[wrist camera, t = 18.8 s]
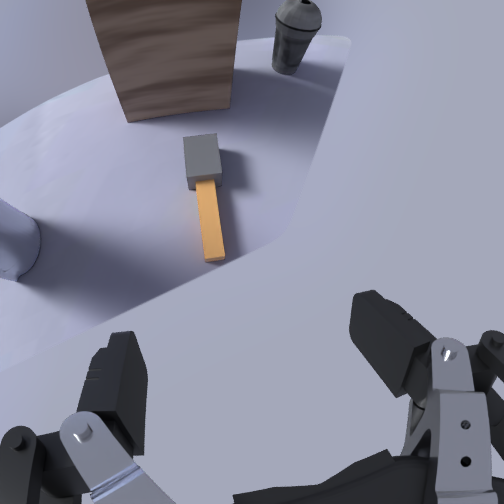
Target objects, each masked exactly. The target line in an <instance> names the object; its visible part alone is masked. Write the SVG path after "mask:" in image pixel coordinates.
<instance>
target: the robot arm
mask: <svg viewBox="0 0 504 504" xmlns="http://www.w3.org/2000/svg"><path fill="white" fill-rule="evenodd" d="M40 240H41V239H40V231H39V228H38V226H37V224H36V222H35V221H34V220H33V219H32V218H30V217H29V216H28V215H26V214H25V213H23V212H21V211H19V210H18V209H16V208H15V207H13V206H11V205H10V204H8V203H7V202H5V201H4V200H2V199H1V198H0V278H3V279H7V280H11V281H17V279H18V277H19V276H20V275H22V274H24V273H26V272H27V271H28V270H29V269H30V268H31V267H32V266H33V264H34V262H35V261H36V259H37V256H38V253H39V249H40ZM349 332H350V337H351V339H352V341H353V343H354V344H355V345H356V347H357V348H358V349H359V351H360V352H361V353H362V354H363V356H364V357H365V358H366V360H367V361H368V362H369V363H370V365H371V366H372V367H373V369H374V370H375V371H376V373H377V374H378V375H379V376H380V378H381V379H382V380H383V382H384V383H385V384H386V386H387V387H388V388H389V389H390V391H391V392H392V393H393V395H394V396H395V397H396V398H398V397H400V396H402V395H404V394H407V393H408V394H409V396H410V397H411V400H410V402H409V412H408V421H407V430H406V437H405V443H404V447H403V450H402V452H401V454H400V456H393V457H392V456H391V454H390V453H389V451H388V450H387V449H386V450H383V451H381V452H379V453H377V454H375V455H372V456H370V457H367V458H365V459H362V460H360V461H357V462H355V463H353V464H351V465H350V466H349V467H347V468H345V469H344V470H342V471H341V472H339V473H338V474H336V475H334V476H333V477H331V478H330V479H328V480H326V481H324V482H323V483H321V484H318V485H308V486H292V487H272V488H268V489H263V490H258V491H253V492H247V493H241V494H235V495H233V499H234V504H504V479H502V478H497V477H493V476H492V463H491V444H492V445H493V447H494V448H495V449H496V451H497V452H498V453H499V455H500V456H501V458H502V459H503V460H504V400H503V399H501V397H500V396H499V395H498V394H497V393H496V391H495V390H494V389H493V388H492V385H493V383H494V381H495V380H496V378H497V376H498V377H499V378H500V379H501V380H502V381H503V382H504V334H503V333H501V332H498V331H494V330H493V331H492V330H490V331H486V332H484V333H483V335H482V337H481V339H480V342H479V344H478V345H472V346H465V345H463V344H462V343H461V342H460V341H458V340H456V339H453V338H439V339H436V338H435V337H434V336H433V335H432V334H431V333H430V332H429V331H428V330H426V329H425V328H424V327H423V326H422V325H421V324H420V323H419V322H418V321H416V320H415V319H413V317H412V316H411V315H410V314H409V313H407V312H406V311H405V310H404V309H403V308H402V307H401V306H400V305H398V304H396V303H394V302H392V301H390V300H387V299H384V298H383V297H382V296H381V295H380V294H379V293H378V292H376V291H375V290H370V291H365V292H361V293H356V294H355V295H354V297H353V302H352V310H351V318H350V326H349ZM147 385H148V376H147V369H146V365H145V362H144V359H143V356H142V354H141V351H140V348H139V345H138V342H137V339H136V336H135V334H134V332H133V331H126V332H116V333H112V334H111V336H110V339H109V343H108V346H107V348H100V349H99V350H98V352H97V353H96V354H95V355H94V356H93V357H92V360H91V363H90V366H89V371H88V372H87V376H86V380H85V382H84V386H83V390H82V393H81V397H80V400H79V404H78V408H77V412H76V413H74V414H72V415H71V416H69V417H68V418H66V419H65V421H64V422H63V423H62V425H61V428H60V431H57V432H53V433H49V434H45V435H40V436H36V434H35V433H34V432H33V431H32V430H31V429H30V428H28V427H25V426H16V427H14V428H12V429H10V430H9V431H8V432H7V433H6V434H5V435H4V437H3V439H2V441H1V445H0V504H81V502H82V499H81V498H82V494H83V493H89V492H92V494H90V496H91V499H92V501H93V502H94V504H176V503H175V502H174V501H173V500H172V499H170V497H169V496H167V494H165V492H163V491H162V490H161V489H160V487H159V486H157V485H156V483H154V481H153V480H152V479H151V478H150V477H149V476H148V475H147V474H146V473H145V472H144V471H143V470H142V469H141V468H140V466H138V465H137V464H136V463H135V462H134V460H133V456H134V455H135V456H136V455H137V456H138V455H144V438H145V414H146V398H147Z"/></svg>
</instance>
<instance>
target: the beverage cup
mask: <svg viewBox="0 0 504 504" xmlns="http://www.w3.org/2000/svg"><path fill="white" fill-rule="evenodd" d="M275 17H276V32H275V40H274V48H273V56H272V67H273V69H274V70H275V71H277V72H278V73H281V74H285V75H290V74H293V73H294V72H295V71H296V69H297V67H298V66H299V64H300V62H301V60H302V58H303V56H304V54H305V52H306V50H307V48H308V46H309V44H310V42H311V40H312V38H313V37H314V36H315V35H316V33H317V32H318V30H319V29H320V28H321V22H322V17H321V12H320V10H319V8H318V7H317V6H316V4H314V3H313V2H312V1H310V0H287V1H285V2H284V3H283V4H282V5H281V6H280V7H279V9H278V11H277V13H276V14H275Z"/></svg>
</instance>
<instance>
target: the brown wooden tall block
mask: <svg viewBox="0 0 504 504" xmlns="http://www.w3.org/2000/svg"><path fill="white" fill-rule="evenodd" d="M241 3H242V0H86V4H87V7H88V10H89V13H90V17H91V20H92V23H93V27H94V30H95V33H96V36H97V39H98V42H99V45H100V48H101V51H102V54H103V57H104V60H105V62H106V66H107V68H108V71H109V74H110V77H111V80H112V82H113V85H114V88H115V90H116V93H117V96H118V98H119V101H120V104H121V106H122V109H123V111H124V114H125V117H126V119H127V122H133V121H138V120H144V119H149V118H155V117H161V116H168V115H175V114H182V113H190V112H198V111H207V110H217V109H229V108H230V99H231V89H232V79H233V70H234V60H235V51H236V43H237V34H238V26H239V18H240V10H241Z"/></svg>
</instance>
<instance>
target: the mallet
mask: <svg viewBox="0 0 504 504" xmlns="http://www.w3.org/2000/svg"><path fill="white" fill-rule="evenodd" d="M183 141H184V154H185V166H186V176H187V182H188V188H189V190H192V189H196V192H197V201H198V209H199V217H200V225H201V233H202V241H203V248H204V255H205V262H210V261H217V260H224V259H225V252H224V245H223V239H222V232H221V225H220V218H219V211H218V204H217V197H216V190H215V186H221V184H222V168H221V161H220V154H219V147H218V140H217V133H216V134H206V135H198V136H190V137H183Z"/></svg>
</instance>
